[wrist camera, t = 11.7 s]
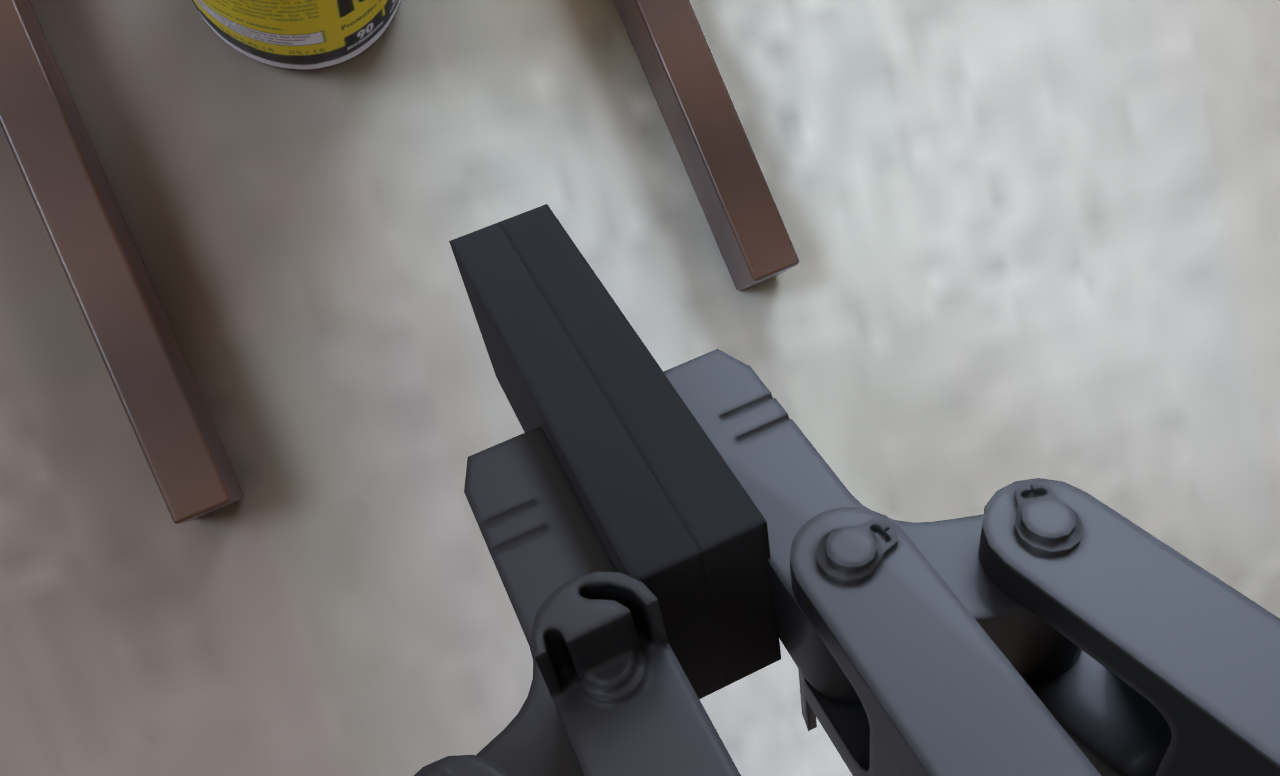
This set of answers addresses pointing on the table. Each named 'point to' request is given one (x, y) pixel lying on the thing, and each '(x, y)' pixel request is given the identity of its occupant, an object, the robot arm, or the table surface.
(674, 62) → the bay
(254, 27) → the supplement bottle
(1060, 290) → the table surface
